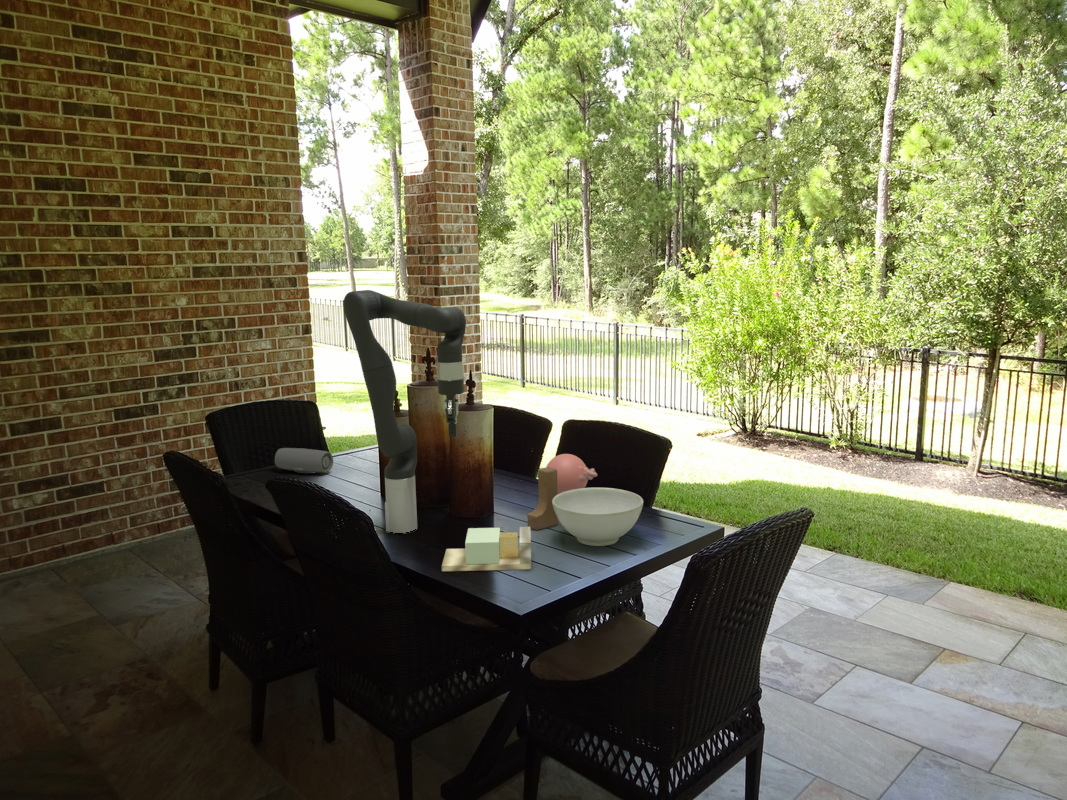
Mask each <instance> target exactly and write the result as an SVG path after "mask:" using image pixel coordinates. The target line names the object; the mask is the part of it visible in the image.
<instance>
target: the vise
mask: <svg viewBox="0 0 1067 800" xmlns="http://www.w3.org/2000/svg"><path fill="white" fill-rule="evenodd" d="M531 535H532V534H531V528H530V527H528V526H519V546H518V558H500V562H499V564H466V553H465V548H446V549H445V553H444V557H443V559H442V564H441V572H468V571H469V572H471V571H472V572H474V571H505V570H506V571H507V570H508V571H510V570H511V571H512V570H514V571H515V570H517V571H518V570H532V545H531V544H532V541H531V539H532V538H531Z"/></svg>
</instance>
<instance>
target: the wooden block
mask: <svg viewBox="0 0 1067 800" xmlns="http://www.w3.org/2000/svg"><path fill="white" fill-rule="evenodd" d="M537 482H538V483H537V486H538V487H537V488H538V491H537V492H538V495H537V496H538V499H537V500H538V501H537V505H536V507H535V508H534V510H533V511H531V512H528V513H527V527H530V530H533V531H538V530H543V529H546V528H550V527H553V526H558V525H559V519H558V518H557V516H556V513H555V511H554V508H553V504H552V500H553V498H554V497H555V496H556V495H558V490H557V469H553V468H550V467H542V468H539V469H537Z"/></svg>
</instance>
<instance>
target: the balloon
mask: <svg viewBox="0 0 1067 800" xmlns="http://www.w3.org/2000/svg"><path fill="white" fill-rule="evenodd" d="M546 467H550V468H553V469H557V490H558V494H560V493H562V492H565V491H569V490H574V489H580V488H586V487H587V484H588V481H589V480H590V481H591V480H593V479H594V478H596V477H598V473H597V472H596V470H595V468H593V467H592V468H589V467H587V465H586V464H585V463H584V461H583V460H582V459H581V458H580V457H578V456H577V455H574V454H570V453H561V454H558V455H556V456H554V457H553V458H552V459H551V460H550V461H549V462H548V463H547V465H546ZM546 467H545V468H546Z"/></svg>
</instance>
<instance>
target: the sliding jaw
mask: <svg viewBox="0 0 1067 800" xmlns="http://www.w3.org/2000/svg"><path fill="white" fill-rule="evenodd" d="M500 533H501V527H476V528H475V527H469V528H467V532H466V537H465V541H464V542H465V543H464V545H465V546H464V547H465V553H466V564H499V562H500V543H499V535H500Z"/></svg>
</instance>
